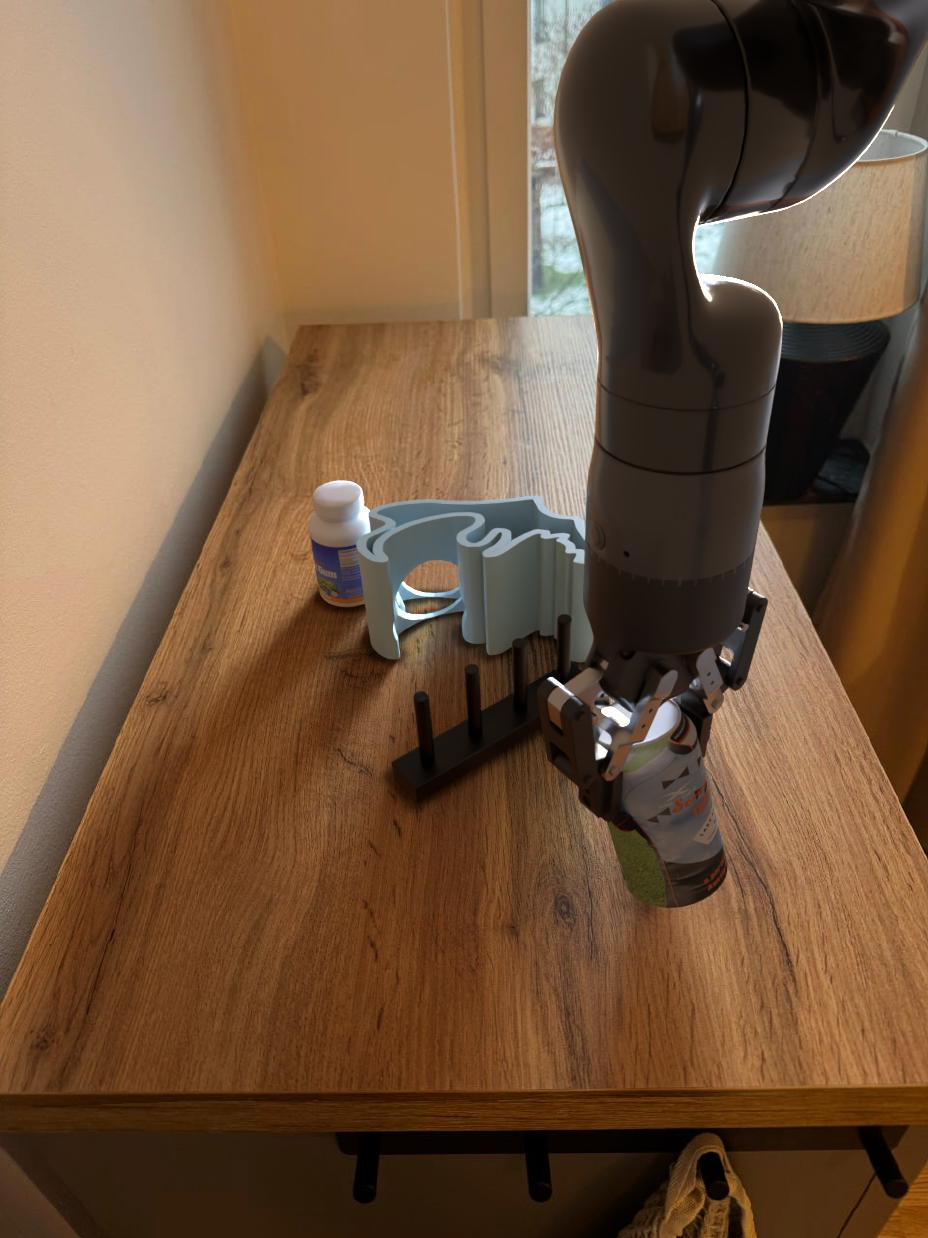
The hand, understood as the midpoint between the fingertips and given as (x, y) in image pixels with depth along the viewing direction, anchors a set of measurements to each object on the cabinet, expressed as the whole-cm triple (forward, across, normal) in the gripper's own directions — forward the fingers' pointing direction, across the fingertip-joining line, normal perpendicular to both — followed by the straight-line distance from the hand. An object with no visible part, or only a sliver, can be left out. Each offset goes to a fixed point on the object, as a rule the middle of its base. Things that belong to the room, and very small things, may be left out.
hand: (644, 779), depth 51 cm
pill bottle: (+7, +1, +35) cm, 36 cm away
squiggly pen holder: (+7, +7, +24) cm, 26 cm away
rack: (+7, 0, +14) cm, 16 cm away
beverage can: (+7, 0, -2) cm, 8 cm away
